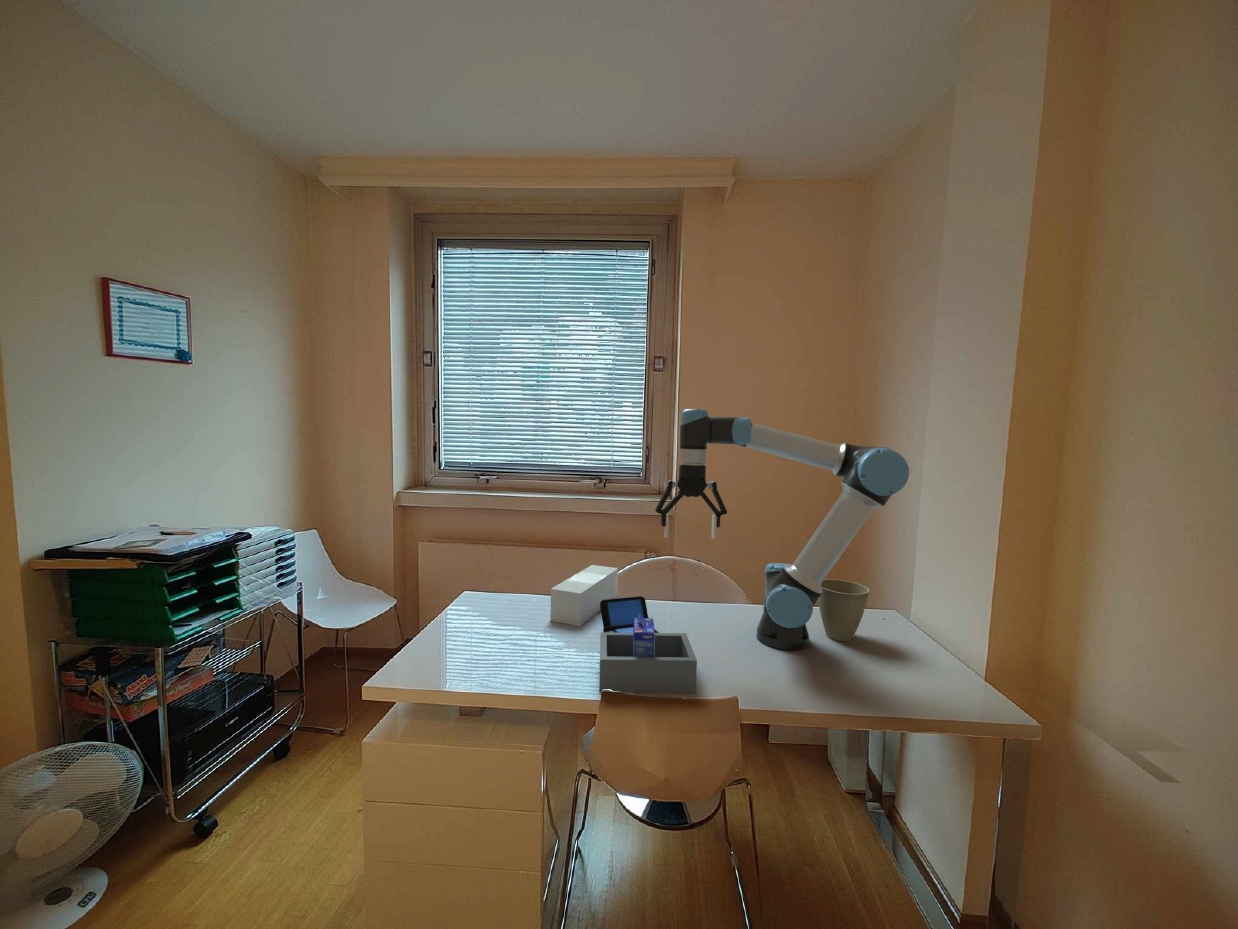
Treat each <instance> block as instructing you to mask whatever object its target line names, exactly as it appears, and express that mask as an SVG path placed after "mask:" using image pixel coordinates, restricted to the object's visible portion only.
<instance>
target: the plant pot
mask: <svg viewBox="0 0 1238 929" xmlns="http://www.w3.org/2000/svg"><path fill="white" fill-rule="evenodd" d="M821 586H822V590H823V593H822V594H821V596H820V597H819V598H818V600H817V601H818V608H819V612H820V617H821V622H822V625H823V629H824V631H825V634H826V636H827V637H828V638H830V639H832V640H835V641H838V642H850V641H851V640H853V638H854V636H855V634H856V632H857V630H858V628H859V626H860V624H861V621H862V618H863V616H864V613H865V610H866V607H867V602H868V599H869V594H870V589H869V588H868V587H867V586H865V585H862V584H860V583H857V582H853V581H848V580H842V579H836V578H835V579H831V578H825V579H824V580H823V582H822V583H821Z"/></svg>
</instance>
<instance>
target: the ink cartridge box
mask: <svg viewBox="0 0 1238 929" xmlns="http://www.w3.org/2000/svg"><path fill="white" fill-rule="evenodd" d="M654 629H655V623H654V618H653V617H649V618H641V616H640V615H639V613H638V618H634V628H633V657H655V631H654Z"/></svg>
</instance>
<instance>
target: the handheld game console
mask: <svg viewBox="0 0 1238 929" xmlns="http://www.w3.org/2000/svg"><path fill="white" fill-rule="evenodd" d="M647 607H648V606H647V603H646V599H645V597H644V596H641V595H640V596H630V597H629V596H628V597H620V598H614V599H608V600H602V601H601V602H600V608H601V610H600V614H601V620H602V627H603V630H602V632H617V633H633V628H634V618H638V613H639V615H640V616H641V618H650V617H649V614H648V608H647ZM654 631H655V633H660V632H659V631H658V630H657V629H656V628H654Z"/></svg>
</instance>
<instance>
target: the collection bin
mask: <svg viewBox="0 0 1238 929" xmlns="http://www.w3.org/2000/svg"><path fill="white" fill-rule="evenodd" d="M599 638H600V644H599V646H600V648H599V683H598V684H599V686H598V688H599V689H598V691H599V693H602V692H601V691H602V690H603V689H611V690H613V691H620V692H619V693H637V694H638V693H640V694H641V693H643V694H644V693H647V694H648V693H651V694H652V693H654V694H655V693H659V694H661V693H662V694H664V693H665V694H696V693H697V672H698V671H697V669H698V667H697V665H698V659H697V658H696V655H695V652H694V650H693V648H692V644H691V642H690V640H689V637H688V635H687V633H683V632H679V633H678V632H676V633H675V632H674V633H673V632H659V633H655V657H633V633H617V632H603V631H602V632H600V637H599Z"/></svg>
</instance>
